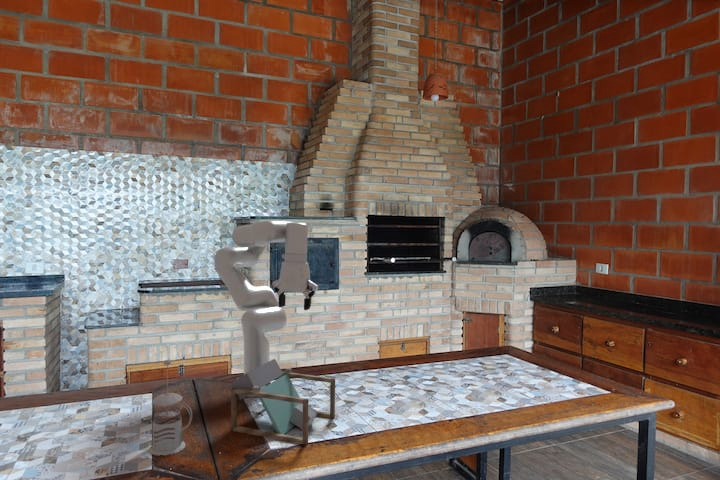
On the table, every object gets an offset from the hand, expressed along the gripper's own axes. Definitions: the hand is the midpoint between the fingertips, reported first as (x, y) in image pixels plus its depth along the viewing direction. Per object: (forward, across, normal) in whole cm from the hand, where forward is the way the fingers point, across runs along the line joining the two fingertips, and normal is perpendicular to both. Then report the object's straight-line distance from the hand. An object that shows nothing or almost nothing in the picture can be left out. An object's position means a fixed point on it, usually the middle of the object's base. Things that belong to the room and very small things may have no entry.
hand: (294, 308), depth 164 cm
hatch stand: (+35, +5, -13) cm, 37 cm away
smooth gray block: (+30, +8, -13) cm, 34 cm away
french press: (+35, -17, -39) cm, 55 cm away
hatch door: (+30, -4, -13) cm, 33 cm away
